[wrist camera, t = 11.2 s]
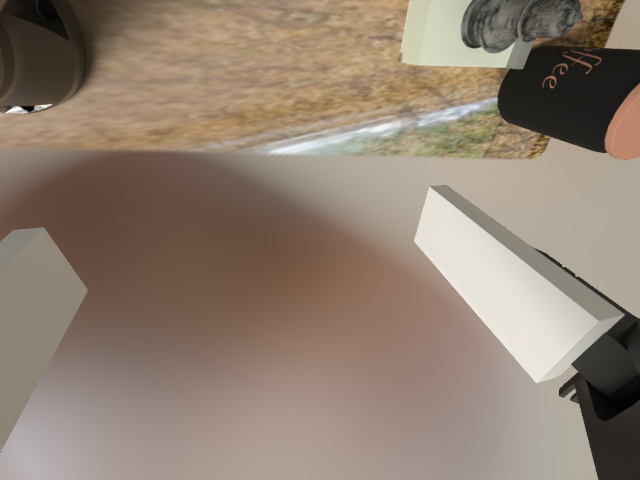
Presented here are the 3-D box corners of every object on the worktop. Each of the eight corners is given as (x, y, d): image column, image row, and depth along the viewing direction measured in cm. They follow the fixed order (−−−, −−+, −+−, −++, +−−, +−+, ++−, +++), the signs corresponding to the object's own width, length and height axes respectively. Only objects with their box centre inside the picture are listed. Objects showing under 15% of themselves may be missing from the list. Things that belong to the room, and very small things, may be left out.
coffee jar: (565, 35, 41) (739, 37, 27) (546, 110, 47) (677, 143, 33) (499, 58, 40) (640, 73, 26) (489, 131, 47) (597, 173, 33)
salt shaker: (452, 52, 33) (537, 61, 24) (466, -13, 30) (572, -33, 21) (494, 50, 34) (591, 57, 25) (512, -14, 31) (633, -33, 22)
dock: (398, 61, 37) (425, 66, 32) (414, -32, 32) (449, -44, 27) (485, 64, 40) (522, 69, 35) (514, -21, 35) (562, -29, 30)
